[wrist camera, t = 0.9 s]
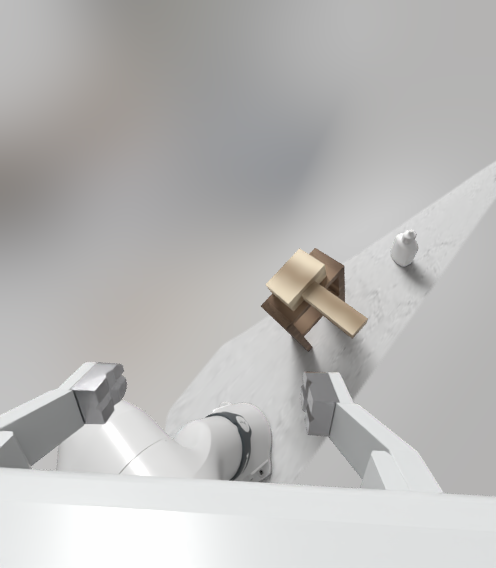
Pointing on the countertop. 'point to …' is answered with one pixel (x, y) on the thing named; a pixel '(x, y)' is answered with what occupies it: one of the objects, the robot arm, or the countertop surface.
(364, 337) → the countertop surface
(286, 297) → the wooden mallet
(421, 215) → the countertop surface
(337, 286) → the walnut shelf
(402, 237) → the eye dropper bottle
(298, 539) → the robot arm
